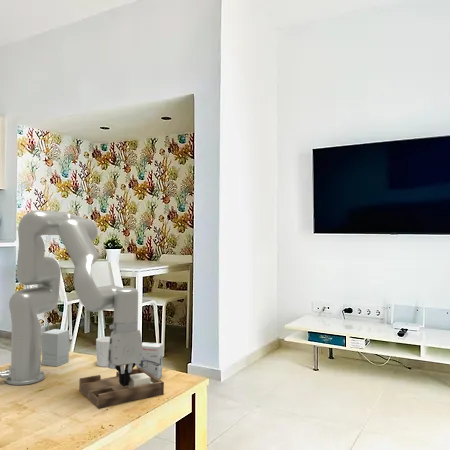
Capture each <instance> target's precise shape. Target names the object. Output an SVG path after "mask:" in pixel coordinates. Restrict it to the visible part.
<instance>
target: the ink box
mask: <svg viewBox="0 0 450 450" xmlns="http://www.w3.org/2000/svg"><path fill="white" fill-rule="evenodd" d="M163 350H164V344H163V343H158V342H142V353H143V356H142V360H141V363H140V364H138V365H136V366H135V369H136V368H141V369H143V370H144V371H146V372H148V373H149V374H151V375H153V376H155V377H156V378H158V379H160V378H162V377H163V359H164V355H163V353H164V351H163Z"/></svg>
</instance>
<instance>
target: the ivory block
mask: <svg viewBox="0 0 450 450" xmlns="http://www.w3.org/2000/svg"><path fill="white" fill-rule="evenodd" d="M150 379H151V377H149V376H148V375H146V374H145V373H139V374H133V375H130V382H129V386H128V387H129V388H131V387H136V386H141V385H146V384H150Z"/></svg>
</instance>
